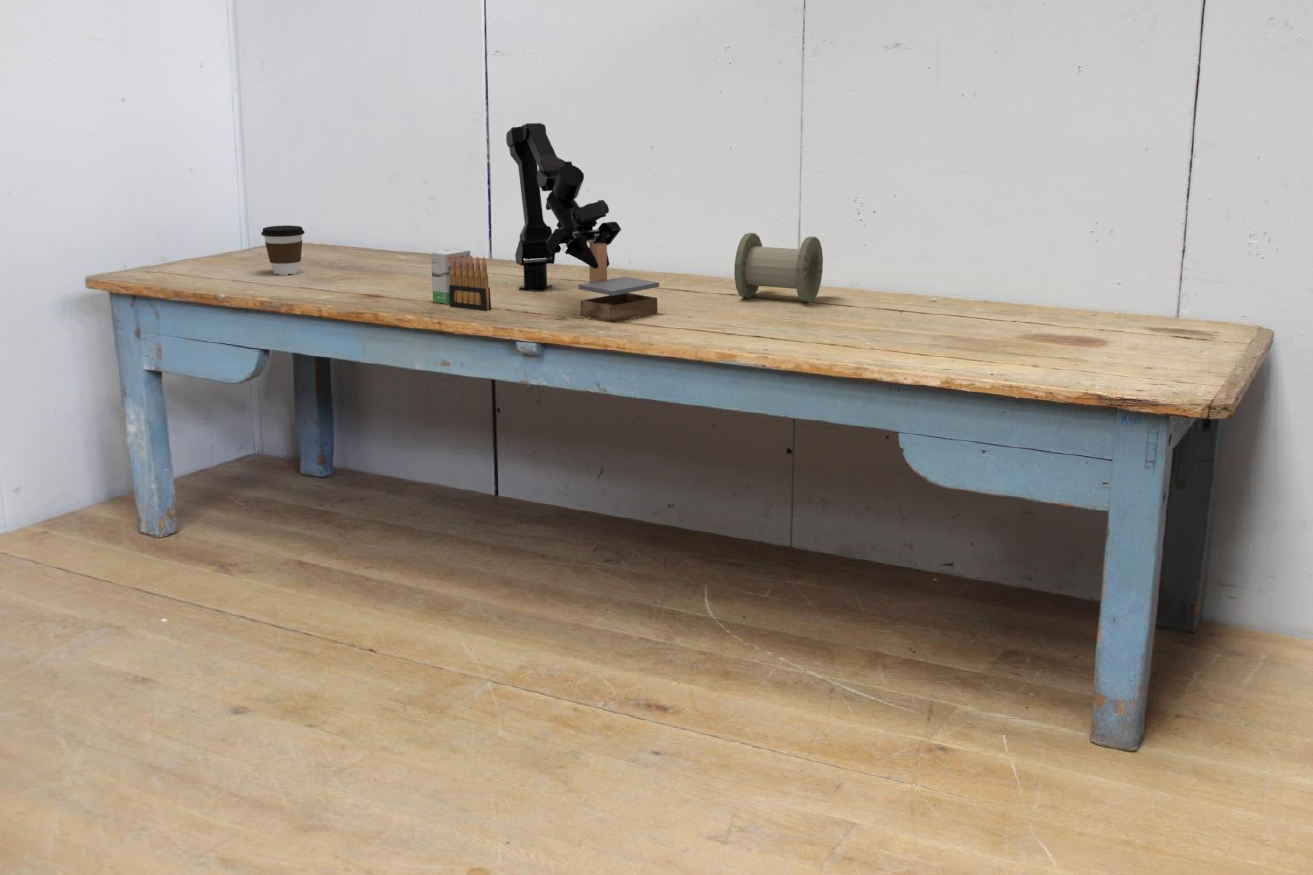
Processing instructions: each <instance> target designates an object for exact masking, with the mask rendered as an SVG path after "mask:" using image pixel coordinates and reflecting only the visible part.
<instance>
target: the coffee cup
mask: <svg viewBox="0 0 1313 875" xmlns="http://www.w3.org/2000/svg"><path fill="white" fill-rule="evenodd" d="M305 233H306V232H305V230H304V229H303V227H302V226H301V225H272V226H267V227H263V228H262V231H261V236H263V237H264V243H265V248H266V252H267V256H268V260H269V263H270V265H271V269H272V272H273V273H274V275H275V274H279V275H278V276H289V275H288V274H294V275H298V274H299V272H300V268H301V265H300V264H301V261H302V250H303V248H302V247H303V235H304V234H305Z"/></svg>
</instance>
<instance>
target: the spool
mask: <svg viewBox="0 0 1313 875" xmlns="http://www.w3.org/2000/svg"><path fill="white" fill-rule="evenodd" d="M821 244H822V243H821V241H820V239H819V238H817V236H807V237H805V238H804V240H803V241H802V243H801V245H800V248H789V247H788V248H786V247H769V246H763V243H762V241H761V238H760V236H759V235H758V234H756V233H755V232H748V233H745V234H744V235H743V236H742V237H741V239H740V241H739V243H738V246H737V249H736V253H735V258H734V275H733V276H734V282H735V283H734V284H735V288H736V291H737V293H738V295H739V296H740V297H741V298H743V297H745V298H744V299H750V298H752V297H751V296H752V295H754V296H755V295H756V294H757V292H758V290H759V287H767V288H768V287H769V288H779V289H791V290H792V289H794V290H796V294H797V295H798V299H799V301H801V303H803V302H808V303H807V304H810V303H812V302H813V300H814V299H816V298H817V296H818V293H819V291H820V288H821V285H822V284H821V283H822V278H823V277H822V276H823V270H824V269H823V268H824V267H823V264H824V257H823V247H822V245H821ZM749 297H750V298H749ZM814 301H815V300H814ZM809 302H810V303H809Z"/></svg>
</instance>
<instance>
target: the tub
mask: <svg viewBox="0 0 1313 875" xmlns="http://www.w3.org/2000/svg"><path fill="white" fill-rule="evenodd" d="M656 313H657V314H658V297H654V296H650V295H649V296H648V295H644V294H643V295H642V294H636V293H633V292H630V293H624V294H619V295H614V296H611V295H604V296H603V295H602V296H599V297H592V298H587V299H581V300H580V317H582V316H585V317H584V318H587V317H590V318H589V319H592V318H594V319H593V320H598V319H599V320H598V321H603V320H604V322H608V321H609V322H610V323H616V321H617V322H621V321H620V320H622V321H625V320H624V319H627V320H630V319H629V318H632V319H634V318H633V317H637V318H639V317H638V316H642V317H645V316H646V315H647V316H651V314H652V315H656ZM609 322H608V323H609Z"/></svg>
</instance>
